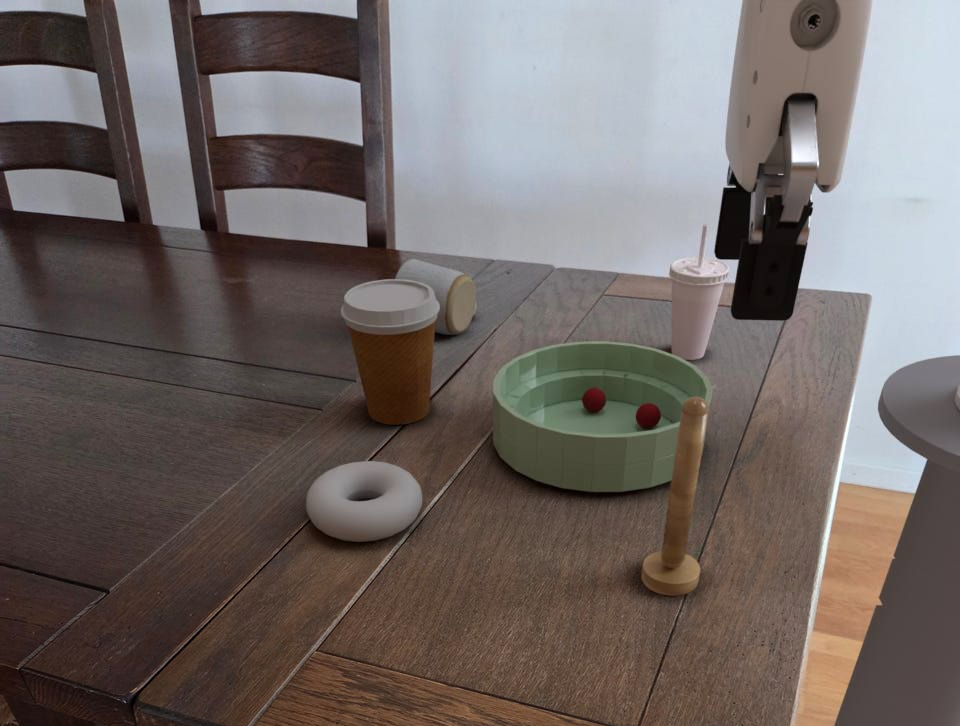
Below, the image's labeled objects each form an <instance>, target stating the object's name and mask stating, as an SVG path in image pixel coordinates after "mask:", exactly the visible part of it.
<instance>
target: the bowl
mask: <svg viewBox="0 0 960 726" xmlns="http://www.w3.org/2000/svg"><path fill="white" fill-rule="evenodd" d="M710 381H711V380H710V379H709V377H708V376H707V375H706V373H704V372H703V371H702V370H701V369H700V368H699V367H698V366H696V365H694V364H693V363H691V362H690V361H689V360H685V359H682V358H681V357H678V356H676V355H673V354H672V353H670V352H667V351H664V350H661V349H659V348H655V347H649V346H645V345H640V344H636V343H628V342H618V341H606V340H604V341H603V340H602V341H601V340H600V341H596V340H595V341H594V340H593V341H574V342H567V343H557V344H552V345H548V346H544V347H540V348H539V347H538V348H536V349H533V350H530V351H528V352H525V353H523V354H520V355H518V356H516V357H514V358H512V359H511V360H509V362H507V363H506V364H504V365H503V366H502V367H500V369H499V370H498V371H497V373H496V375H495V376H494V378H493V380H492V444H493V446H494V448H495V450H496V452H497V454H498V456H499V457H500V459H501V460H502V461H504V462H505V463H506V464H507V465H509V467H511V468H512V469H513V470H515V471H516V472H517V473H520V474H522V475H524V476H526V477H528V478H530V479H532V480H533V481H535V482H539V483H543V484H546V485H549V486H553V487H556V488H559V489H566V490H573V491H580V492H581V491H582V492H588V493H624V492H631V491H636V490H643V489H650V488H654V487H656V486H660V485H662V484H665V483H668V482H672V474H673V467H674V460H675V453H676V446H677V439H678V431H679V424H680V417H681V410H682V406H683V404H684V402H685V401H686V400H687V399H689V398H691V397H700V398H703V399H704V400H705V401H706V402H707V404H708V408H709V412H708V418H707V424H706V430H705V437H704V443H703V449H702V455H701V458H702V457H703V453H704V449H705V444H706V438H707V433H708V425H709V419H710V415H711V414H710V413H711V408H712V401H713V396H714V389H713V386H712V384H711V382H710ZM591 388H598V389H601V390H602V391H603V392H604V394H605V396H606V404H605V406H604V408H603V409H602V410H600V411H598V412H589V411H587V410H586V409H585V408H584V406H583V403H582V398H583V395H584V393H585V392H586V391H587V390H588V389H591ZM646 403H651V404H654V405H656V406H657V407H658V408H659V410H660V413H661V417H660V421H659V423H658V424H657V425H656V426H655V427H653V428H649V429H646V428H643V427H641V426H640V425H639V424H638V423H637V421H636V412H637V410H638V408H639V407H640V406H642V405H643V404H646Z"/></svg>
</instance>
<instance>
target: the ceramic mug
mask: <svg viewBox="0 0 960 726" xmlns="http://www.w3.org/2000/svg"><path fill="white" fill-rule="evenodd" d="M394 279H403V280H412V281H417V282H421V283H423V284H426V285H428V286H429V287H431V288H432V289H433V291H434V294H435V298H436V300H437V301H438V302H439V304H440V310H439V312H438V314H437V318H436V320H435V333H436V334H441V335H447V336H456V335H459V334H461V333H463V332H464V331H465V330H466V329H467V328H468V327H469V325H470V324H471V322H472V319H473V317H474V316H475V314H476V311H477V307H478V306H477V305H478V302H477V290H476V286H475V284H474V281H473V280H472V278H471V277H470V276H469V275H467V274H465V273H463V272H461V271H459V270H456V269H453V268H448V267H443V266H441V265H437V264H433V263H430V262H426V261H423V260H420V259H416V258H412V259H411V258H410V259H408V260H406V261H405V262H404V263H402V265H401V266H400V267H399V269H398V270H397V272H396V274H395V278H394Z"/></svg>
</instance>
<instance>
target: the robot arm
mask: <svg viewBox="0 0 960 726" xmlns="http://www.w3.org/2000/svg"><path fill="white" fill-rule="evenodd" d="M872 6H873V0H742V2H741V8H740V15H739V23H738V27H737V36H736V43H735V50H734V57H733V65H732V72H731V81H730V88H729V96H728V98H729V99H728V106H727V116H726V127H725V139H724V141H725V145H724V146H725V154H726V157H727V160H728V163H729V164H728V168H727V173H726V174H727V176H726V186H725V187H724V186H723V187H722V195H721V200H720V202H721V203H720V208H719V216H718V221H717V229H716V236H715V242H714V248H713V249H714V250H713V253H714V256H715V258H716V260H719V261H722V260H723V261H725V260H726V261H728V260H729V261H737V268H736V275H735V280H734V286H733V292H732V298H731V305H730V314H731V317H732V318H733V319H734V320H737V321H775V322H776V321H781V322H784V321H788V320H790V319H791V318H792V316H793V314H794V311H795V310H794V309H795V304H796V300H797V296H798V291H799V286H800V281H801V277H802V272H803V267H804V263H805V257H806V254H807V253H806V252H807V250H808V249H807V248H808V244H809V242H808V240H809V237H810V231H811V216H812V214H813V212H814V211H813V210H814V206H813V205H814V202H813V200H812V197H813V190H814V187H815V185H816V187H817V188H818V190H819V191H820V192H821V193H823V194H824V193H826V194H827V193H830V192H832V191H833V190H834V189H836V187H838V186H839V184H840V182H841V180H842V176H843V171H844V166H845V161H846V156H847V150H848V145H849V140H850V135H851V129H852V123H853V118H854V112H855V107H856V101H857V97H858V96H857V95H858V90H859V85H860V79H861V75H862V74H861V73H862V68H863V62H864V57H865V51H866V46H867V39H868V34H869V27H870V20H871V14H872ZM954 401H955V404H956V406H957V408H958V409H959V410H960V385H959V386H958V389H957V391H956V394H955V398H954Z"/></svg>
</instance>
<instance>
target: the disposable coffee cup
mask: <svg viewBox="0 0 960 726" xmlns="http://www.w3.org/2000/svg"><path fill="white" fill-rule="evenodd" d="M439 310H440V304H439V302H438V301H437V300H436V298H435V294H434V291H433V289H432V288H431V287H429V286H428V285H426V284H423V283H421V282H417V281H412V280H403V279H395V278H388V279H379V280H377V279H376V280H372V281H367V282H364V283H361V284H358V285H355V286H353V287H351V288H350V289H348V290H347V291H346V292H345V294H344V296H343V305H341V308H340V314H341V317H342V319H344V323H345V324H346V325H347V328H348V333H349V337H350V341H351V345H352V350H353V353H354V358H355V362H356V365H357V369H358V374H359V378H360V381H361V382H360V383H361V386H362V391H363V395H364V398H365V402H366V406H367V411H368V415H369V417H370V418H371V419H372V420H373V421H375V422H377V423H381V424H383V425H384V424H385V425H391V426H393V425H395V426H397V425H407V424H413V423H415V422H418V421H421V420H423V419H424V418H425V417H426V416H427V415H428V414H429V413H430V401H431V387H432V375H433V373H432V372H433V359H434V346H435V333H436V332H435V320H436V318H437V314H438V312H439Z"/></svg>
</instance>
